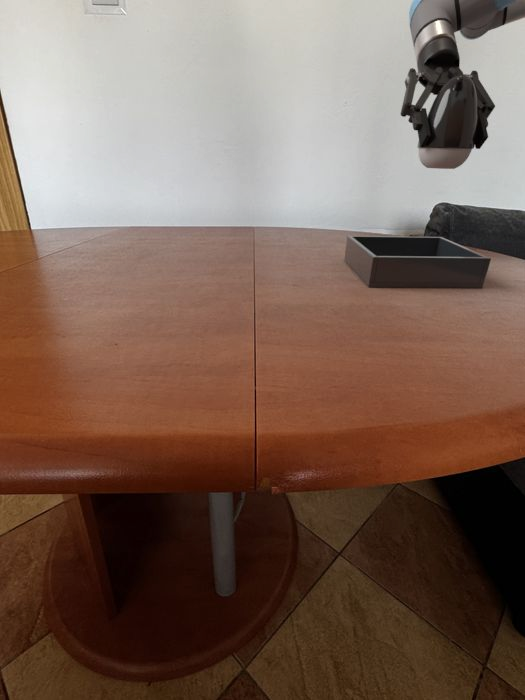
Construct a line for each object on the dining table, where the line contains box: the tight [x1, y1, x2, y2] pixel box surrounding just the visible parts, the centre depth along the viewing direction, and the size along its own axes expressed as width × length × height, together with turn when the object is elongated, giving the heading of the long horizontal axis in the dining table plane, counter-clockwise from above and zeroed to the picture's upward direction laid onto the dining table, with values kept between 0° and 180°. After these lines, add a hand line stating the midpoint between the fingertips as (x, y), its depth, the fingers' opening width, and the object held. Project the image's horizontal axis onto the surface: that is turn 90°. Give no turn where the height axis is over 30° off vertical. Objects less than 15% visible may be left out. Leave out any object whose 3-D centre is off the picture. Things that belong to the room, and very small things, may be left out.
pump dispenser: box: [416, 75, 478, 170], centre depth 71 cm, size 10×10×15 cm
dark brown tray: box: [343, 235, 492, 289], centre depth 66 cm, size 19×17×5 cm
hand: (453, 142), depth 70 cm, fingers closed on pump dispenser, 10 cm apart
